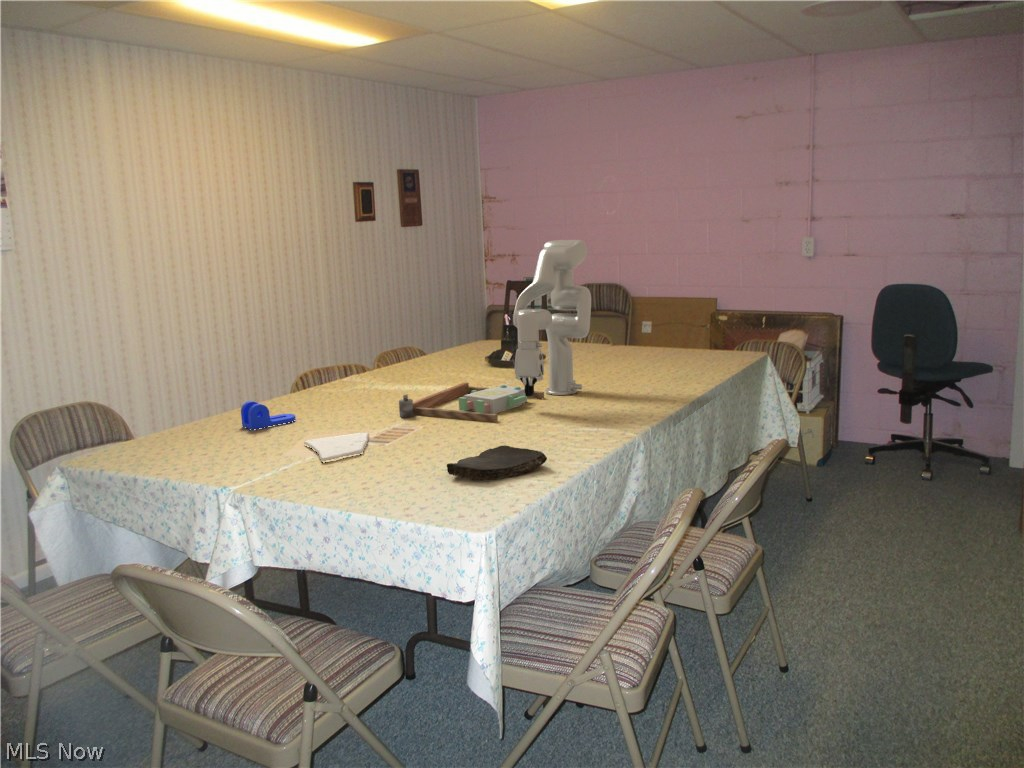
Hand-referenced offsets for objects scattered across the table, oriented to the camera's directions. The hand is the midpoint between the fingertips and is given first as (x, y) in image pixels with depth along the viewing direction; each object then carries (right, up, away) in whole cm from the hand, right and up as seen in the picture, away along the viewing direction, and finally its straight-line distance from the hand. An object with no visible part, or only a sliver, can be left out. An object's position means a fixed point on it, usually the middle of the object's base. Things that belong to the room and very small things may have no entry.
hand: (529, 395), depth 300 cm
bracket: (-93, -11, -4) cm, 94 cm away
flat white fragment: (-59, -17, -40) cm, 74 cm away
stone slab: (-11, -21, -68) cm, 72 cm away
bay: (-21, -5, +10) cm, 24 cm away
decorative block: (-13, -5, +9) cm, 17 cm away
